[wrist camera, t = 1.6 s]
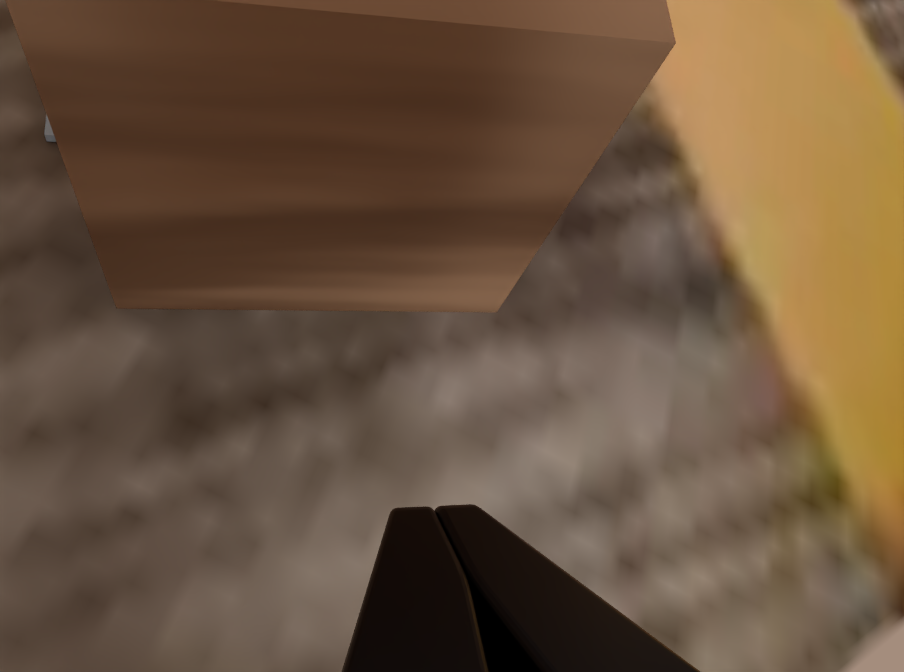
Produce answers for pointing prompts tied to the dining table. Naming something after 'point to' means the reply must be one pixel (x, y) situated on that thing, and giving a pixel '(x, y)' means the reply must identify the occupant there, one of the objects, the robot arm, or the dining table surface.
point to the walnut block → (332, 140)
